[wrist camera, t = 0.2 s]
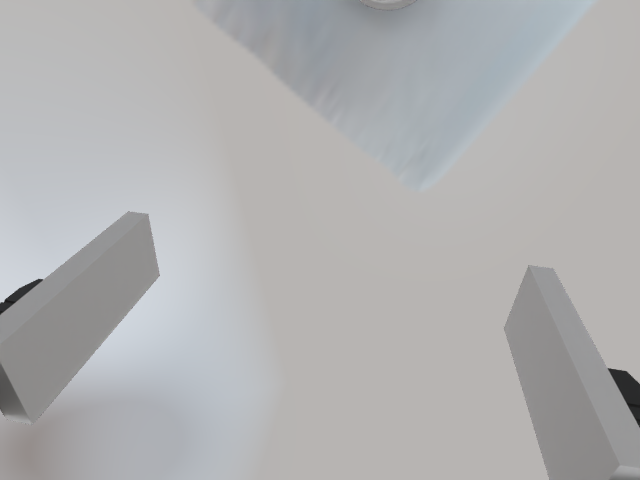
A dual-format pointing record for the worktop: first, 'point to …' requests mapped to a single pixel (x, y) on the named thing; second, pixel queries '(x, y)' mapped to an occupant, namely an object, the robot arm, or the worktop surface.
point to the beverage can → (387, 4)
